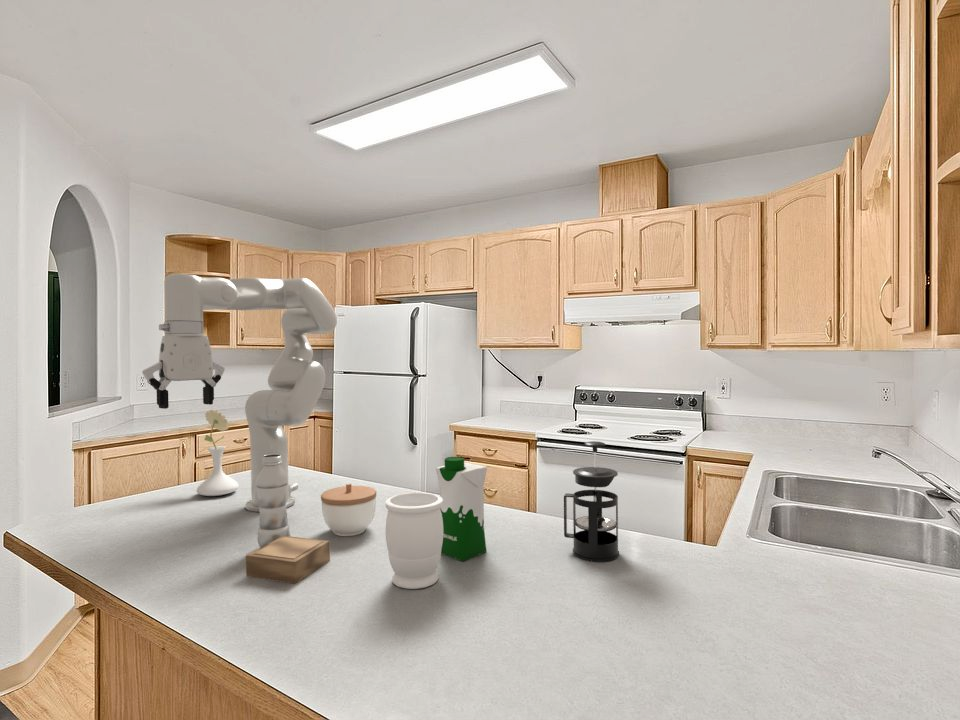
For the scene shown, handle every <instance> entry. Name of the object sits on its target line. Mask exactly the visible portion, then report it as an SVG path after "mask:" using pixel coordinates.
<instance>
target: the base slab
mask: <svg viewBox="0 0 960 720" xmlns="http://www.w3.org/2000/svg"><path fill="white" fill-rule="evenodd" d="M330 542H331V541H330V540H325V539H315V538H306V537H299V536H298V537H297V536H291V535H290V536H282V537H280V538H278V539H276V540H275V541H273V542H271V543H269V544H267V545H265V546H263V547H259V548H258V549H256V550H253V551H252V552H250V553H248V554H245V575H246V577H248V578H255V579H262V580H268V581H277V582H280V583H281V582H282V583H289V584H298V583H299V582H301V580H303V579H304V578H306V577H307V576H309V575H310V574H312V573H314V572H315V571H317V570H319V569H320V568H321V567H322V566H324V565H326V564H327V563H328V562H331V553H330V551H331V549H330V547H331V546H330V544H331V543H330Z"/></svg>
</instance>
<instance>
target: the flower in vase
mask: <svg viewBox="0 0 960 720" xmlns="http://www.w3.org/2000/svg"><path fill="white" fill-rule="evenodd" d="M204 415H205V420H206V421H207V422H208V424H209V425H211V430H210V436H209V435H208V434H206V435H205V437H204V441H207V442H209V443H212V445H213V446H210V447H208V448H207V450H208V451H209V453H210V455H211V457H212V458H211V459H212V465H213V467H212V472H211V474H210V476H208V477H206V479H205V480H204V481H202V482H201V483H200V484H199V486H197V487H196V492H197V494H198V495H200V496H205V497H206V496H207V497H216V496H217V497H218V496H223V495H228V494H231V493H233V492H235V491H237V490H238V489H239V487H240V485H239V483H238V482H237V481H236V480H235V479H233V478H232V477H230V476H229V475H227V474H226V473H225V472H224V471H223V467H222V466H223V465H222V463H223V462H222V461H223V454H224V452H225V450H226V448H227V446H226V445H225V446H224V445H218V446H217V445H216V443H218V442H219V441H220V440H222V439H224V435H222V437H221V438H218V439H217V440H216V441H214V439H213V436H212V435H213V430H214V429H215V430H218V431H221V432H222V431H223V432H224V431H227V430H229V425H230V424H229V422H228V419H227V418H226V415H224V414H222V412H219V411H218V410H217V409H216V410H215V411H214V410H213V409H211V408H210V409H209V410H208V411H206V412H205V414H204Z"/></svg>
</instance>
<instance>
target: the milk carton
mask: <svg viewBox="0 0 960 720" xmlns="http://www.w3.org/2000/svg"><path fill="white" fill-rule="evenodd" d="M487 469H488V466H487V465H486V466H485V465H481V464H475V463H470V462H465V458H464V457H462V456H449V457H445V458H444V465H441V466H437V467H435V471H436V477H437V480H438V486H439V496H441V497H442V498H443V504H442V506H441V507H440V510H441V514H442V519H443V544H442V549H441V555H444V556H448V557H449V558H451V559H455V560H458V561H461V562H465V561H467V560H470V559H472V558H474V557H477V556H479V555H481V554H483V553H486V552H487V543H486V534H485V513H484V512H485V509H484V508H485V507H484V506H485V505H484V504H485V503H484V502H485V500H484V499H485V498H484V494H485V493H484V492H485V491H484V487H485V481H486V475H487Z"/></svg>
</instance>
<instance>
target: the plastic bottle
mask: <svg viewBox="0 0 960 720" xmlns="http://www.w3.org/2000/svg"><path fill="white" fill-rule="evenodd" d="M280 464H282V461H281V455H279V454H271V455H265V456H263V463H262V465H263V466H264V467H263V469H262V470H261V472H260V473H259V475H258V476H257V479H256V488H257V493H258V498H259V506H260V508H259V509H260V512H259V519H258V520H259V521H258V530H257V537H256V538H257V544H258V547H259V548H261V547H263V546H265V545H267V544H269V543H271V542H273V541H275V540H276V539H278V538H280V537H282V536H291V530H290V525H289V520H288V519H289V518H288V513H287V508H286V503H287V489H288V481H289V475H288V476H287V474H286V473H285V471H284V470H283V469H282V468H281V467H280Z"/></svg>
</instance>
